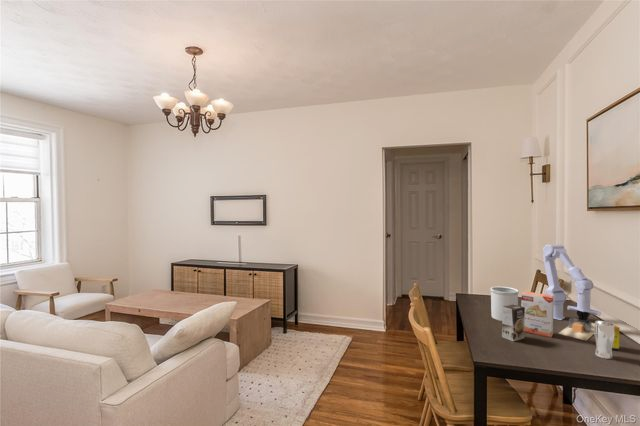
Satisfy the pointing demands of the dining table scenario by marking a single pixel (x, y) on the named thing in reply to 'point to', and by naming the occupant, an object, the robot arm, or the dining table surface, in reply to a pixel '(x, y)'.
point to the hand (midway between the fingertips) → (583, 325)
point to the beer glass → (604, 339)
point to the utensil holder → (502, 300)
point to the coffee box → (513, 322)
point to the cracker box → (538, 313)
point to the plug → (578, 327)
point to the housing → (587, 323)
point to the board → (578, 333)
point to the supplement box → (616, 338)
